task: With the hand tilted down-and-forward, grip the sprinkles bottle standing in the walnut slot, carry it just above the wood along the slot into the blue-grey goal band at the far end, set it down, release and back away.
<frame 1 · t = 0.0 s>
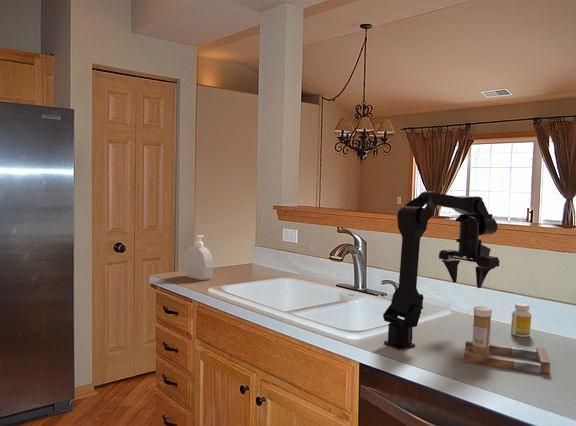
hand: (466, 285, 154), 15 cm above the countertop, tool pointing down, fingers open, 9 cm apart
sprinkles bottle: (480, 357, 132), on the countertop
walnut slot: (488, 357, 131), on the countertop
soap bottle: (198, 278, 228), on the countertop
supplement bottle: (520, 335, 152), on the countertop
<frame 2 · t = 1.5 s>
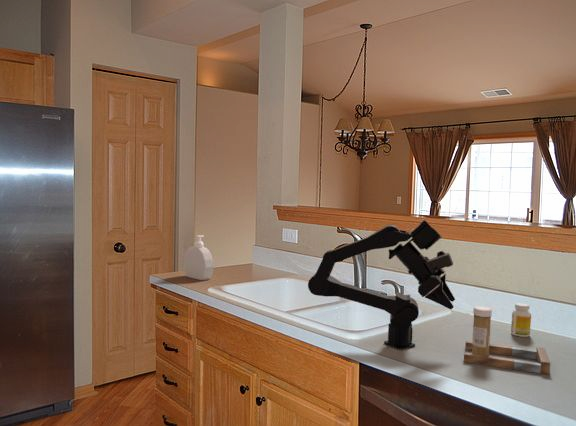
hand: (453, 304, 134), 13 cm above the countertop, tool tilted 45°, fingers open, 9 cm apart
nothing on the countertop moved.
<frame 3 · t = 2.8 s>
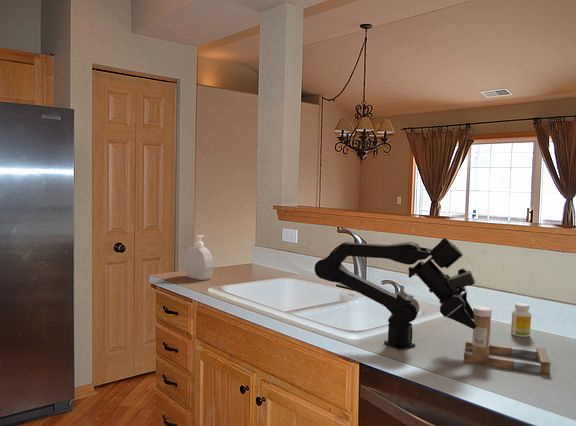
hand: (475, 323, 132), 9 cm above the countertop, tool tilted 45°, fingers open, 9 cm apart
nothing on the countertop moved.
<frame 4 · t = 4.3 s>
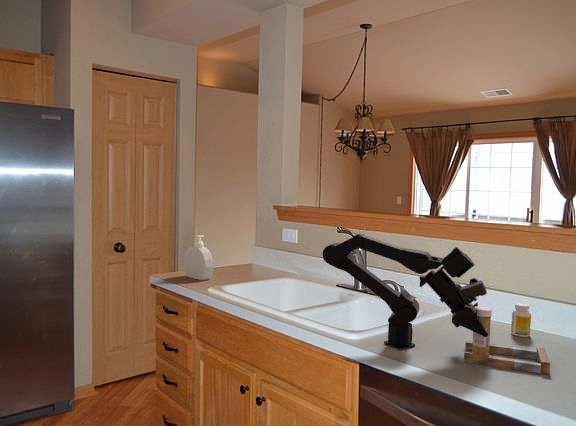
hand: (487, 333, 131), 7 cm above the countertop, tool tilted 45°, fingers closed on sprinkles bottle, 4 cm apart
sprinkles bottle: (480, 357, 132), on the countertop, touching gripper
everything else where it was.
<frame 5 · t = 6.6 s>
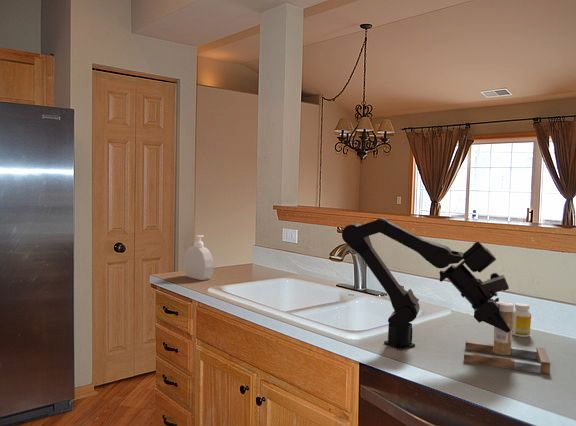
hand: (508, 329, 129), 9 cm above the countertop, tool tilted 45°, fingers closed on sprinkles bottle, 4 cm apart
sprinkles bottle: (501, 353, 130), point 2 cm above the countertop, touching gripper
everything else where it was.
when the fingers open (7 cm above the countertop, at t = 8.8 s): sprinkles bottle stays where it is, on the countertop.
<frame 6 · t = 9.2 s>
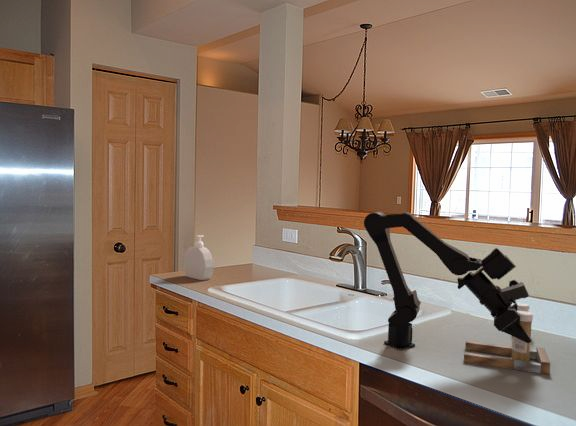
hand: (528, 337, 127), 7 cm above the countertop, tool tilted 45°, fingers open, 9 cm apart
sprinkles bottle: (520, 363, 128), on the countertop
everything else where it was.
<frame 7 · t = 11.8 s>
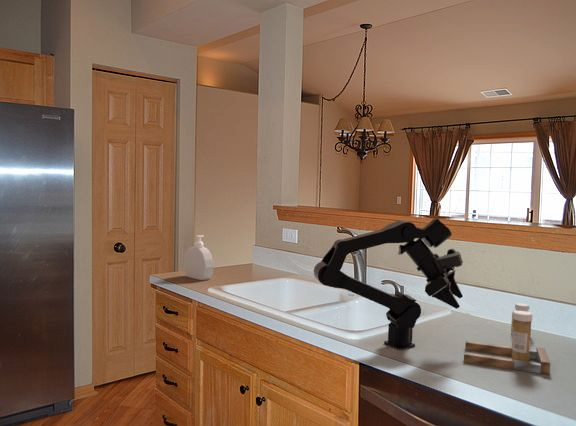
hand: (459, 302, 136), 14 cm above the countertop, tool tilted 40°, fingers open, 9 cm apart
nothing on the countertop moved.
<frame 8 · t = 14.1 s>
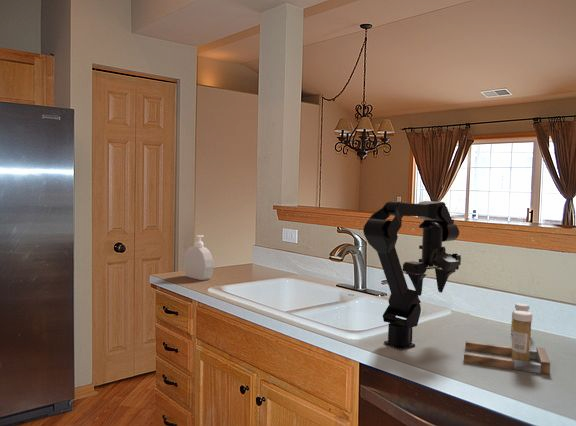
hand: (430, 293, 148), 13 cm above the countertop, tool pointing down, fingers open, 9 cm apart
nothing on the countertop moved.
at the end: sprinkles bottle inside the target area (0.3 cm from its centre), on the countertop; sprinkles bottle tilted 0°; the gripper is holding nothing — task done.
